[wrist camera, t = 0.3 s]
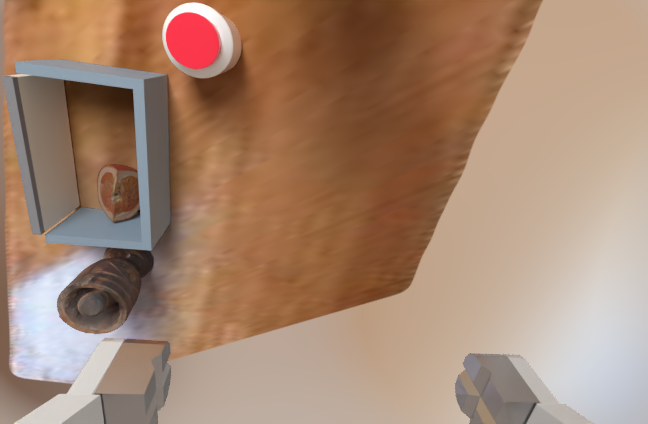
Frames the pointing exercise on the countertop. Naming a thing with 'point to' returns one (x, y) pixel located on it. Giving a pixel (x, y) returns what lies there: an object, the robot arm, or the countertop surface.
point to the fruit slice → (118, 192)
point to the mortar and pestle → (105, 291)
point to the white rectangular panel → (42, 147)
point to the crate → (151, 158)
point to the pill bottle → (201, 40)
